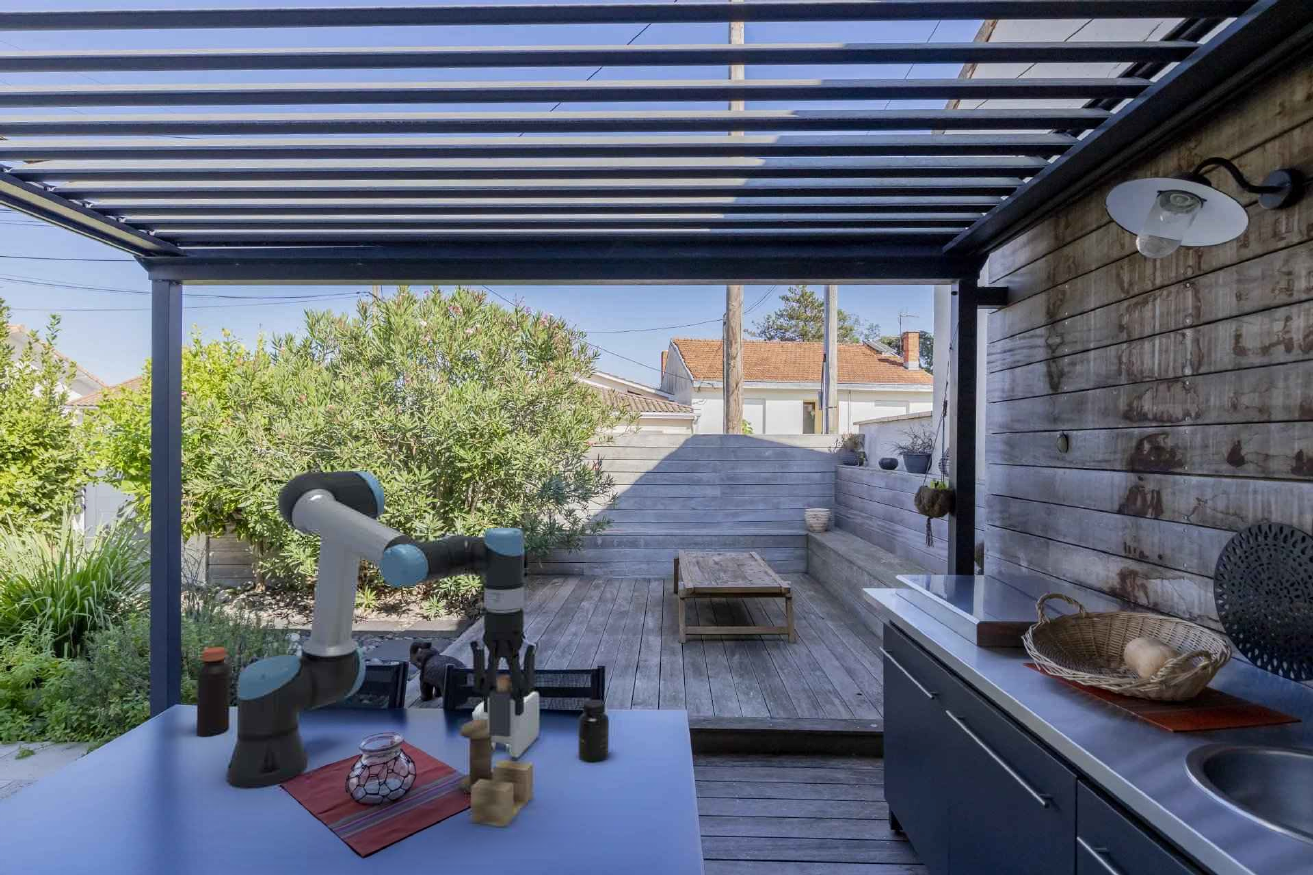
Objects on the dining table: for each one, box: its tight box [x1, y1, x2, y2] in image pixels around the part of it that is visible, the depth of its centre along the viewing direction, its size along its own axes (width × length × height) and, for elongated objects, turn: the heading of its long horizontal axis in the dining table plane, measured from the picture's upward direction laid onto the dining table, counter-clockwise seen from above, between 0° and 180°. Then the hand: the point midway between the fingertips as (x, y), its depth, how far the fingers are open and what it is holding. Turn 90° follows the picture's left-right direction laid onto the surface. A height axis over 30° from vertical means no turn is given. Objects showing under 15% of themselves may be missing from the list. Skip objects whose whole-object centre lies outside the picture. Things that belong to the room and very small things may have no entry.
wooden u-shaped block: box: [470, 759, 534, 828], centre depth 138 cm, size 7×12×7 cm, turn 166°
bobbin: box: [460, 719, 495, 794], centre depth 148 cm, size 8×8×12 cm
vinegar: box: [196, 646, 231, 737], centre depth 176 cm, size 7×7×20 cm
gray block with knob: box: [489, 675, 514, 737], centre depth 139 cm, size 4×4×10 cm
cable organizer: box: [471, 691, 540, 759], centre depth 167 cm, size 15×11×12 cm
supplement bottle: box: [577, 699, 610, 763], centre depth 162 cm, size 7×7×12 cm
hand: (503, 730), depth 138 cm, fingers closed on gray block with knob, 4 cm apart
